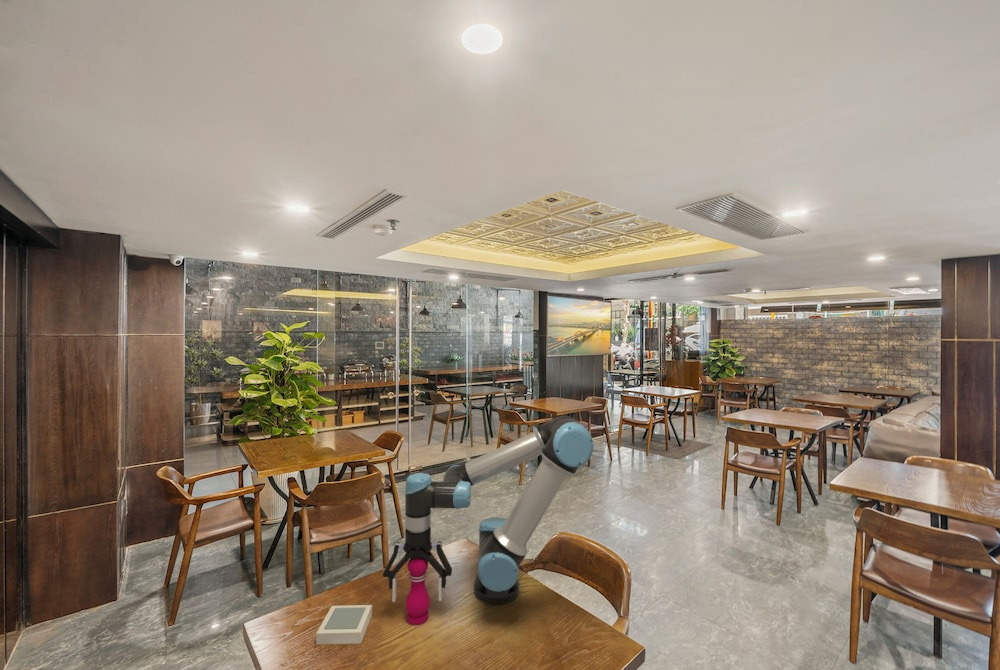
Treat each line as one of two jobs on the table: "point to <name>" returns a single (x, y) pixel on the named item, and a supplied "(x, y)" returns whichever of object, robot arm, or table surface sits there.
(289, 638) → the table surface
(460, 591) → the table surface
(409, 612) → the pepper mill
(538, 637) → the table surface
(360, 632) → the base
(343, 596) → the table surface
